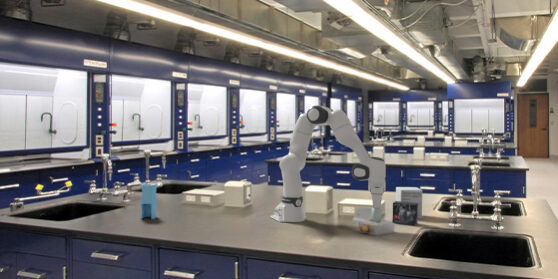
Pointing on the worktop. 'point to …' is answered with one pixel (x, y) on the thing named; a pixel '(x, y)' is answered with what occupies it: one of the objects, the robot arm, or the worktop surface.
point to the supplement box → (410, 197)
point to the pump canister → (376, 218)
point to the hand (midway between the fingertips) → (376, 214)
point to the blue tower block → (148, 201)
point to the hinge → (363, 214)
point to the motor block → (376, 227)
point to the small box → (405, 213)
